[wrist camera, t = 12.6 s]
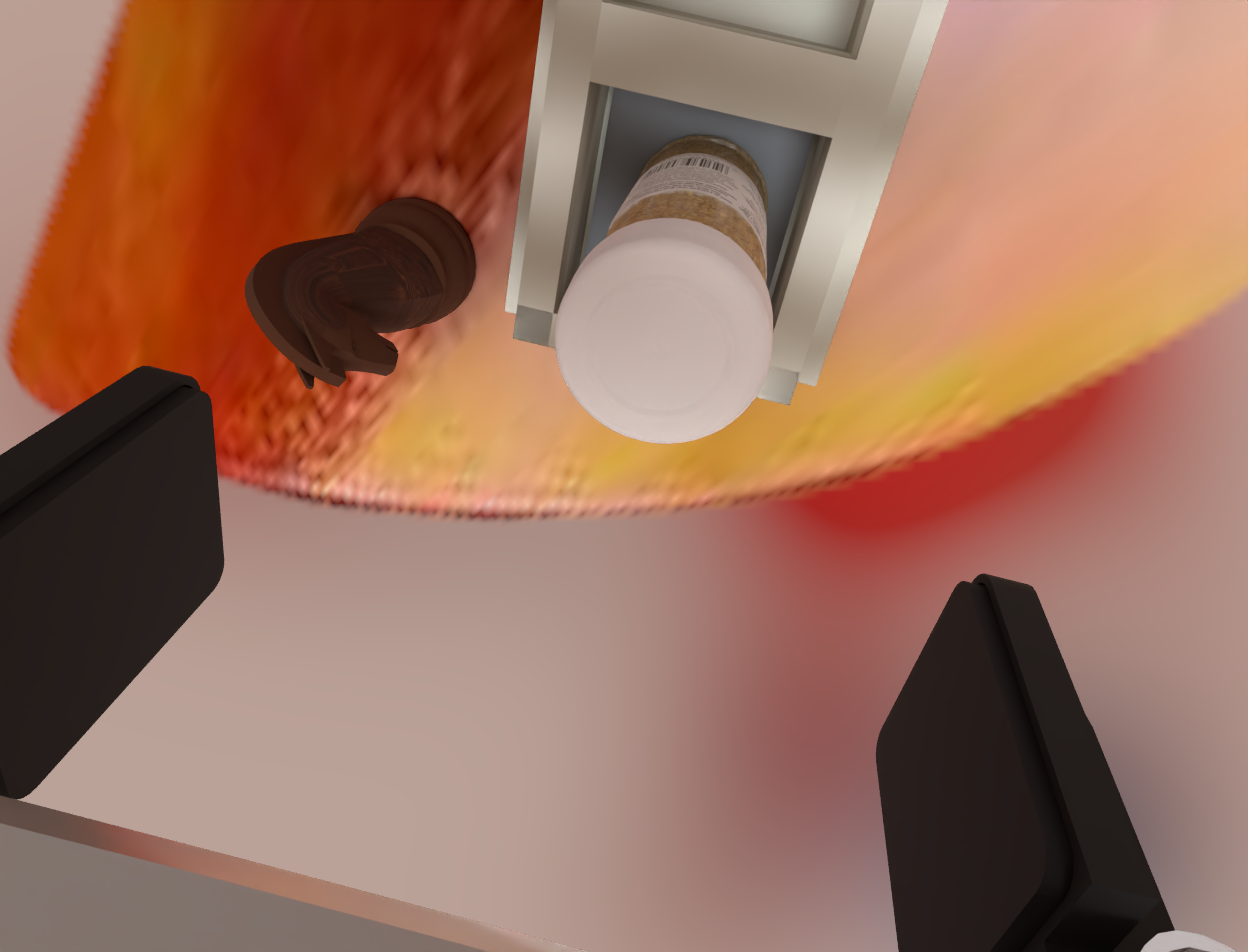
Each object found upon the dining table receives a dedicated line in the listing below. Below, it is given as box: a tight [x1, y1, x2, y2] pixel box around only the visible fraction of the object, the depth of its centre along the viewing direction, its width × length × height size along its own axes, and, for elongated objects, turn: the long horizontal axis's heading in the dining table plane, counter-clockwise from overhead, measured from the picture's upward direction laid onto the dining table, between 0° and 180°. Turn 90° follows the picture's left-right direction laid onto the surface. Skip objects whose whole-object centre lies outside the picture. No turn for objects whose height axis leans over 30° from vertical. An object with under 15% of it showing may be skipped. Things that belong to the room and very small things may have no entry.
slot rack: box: [505, 0, 949, 405], centre depth 26 cm, size 20×12×5 cm, turn 169°
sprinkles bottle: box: [555, 135, 773, 444], centre depth 23 cm, size 5×5×13 cm
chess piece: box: [245, 198, 475, 389], centre depth 29 cm, size 5×5×10 cm
